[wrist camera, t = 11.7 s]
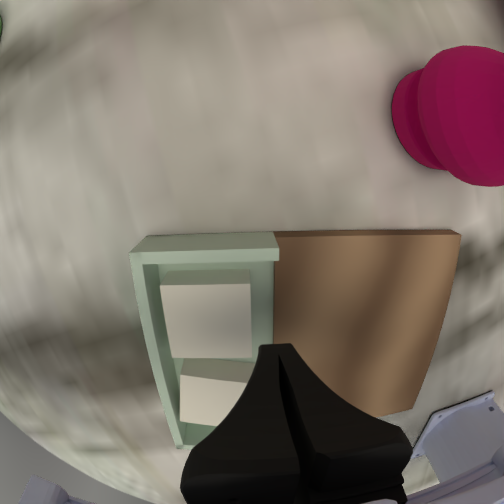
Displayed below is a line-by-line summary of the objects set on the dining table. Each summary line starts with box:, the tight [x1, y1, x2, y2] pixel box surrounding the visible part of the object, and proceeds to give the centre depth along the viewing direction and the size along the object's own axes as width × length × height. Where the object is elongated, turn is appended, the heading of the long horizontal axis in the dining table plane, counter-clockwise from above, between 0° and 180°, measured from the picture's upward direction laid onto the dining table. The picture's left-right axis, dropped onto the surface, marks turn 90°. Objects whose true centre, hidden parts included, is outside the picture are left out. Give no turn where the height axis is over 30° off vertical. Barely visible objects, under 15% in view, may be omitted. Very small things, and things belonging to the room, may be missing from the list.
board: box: [273, 230, 461, 417], centre depth 18 cm, size 12×15×1 cm
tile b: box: [160, 269, 252, 358], centre depth 16 cm, size 4×4×2 cm
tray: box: [129, 232, 279, 450], centre depth 17 cm, size 7×15×3 cm, turn 1°
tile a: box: [180, 358, 255, 426], centre depth 18 cm, size 4×4×2 cm
